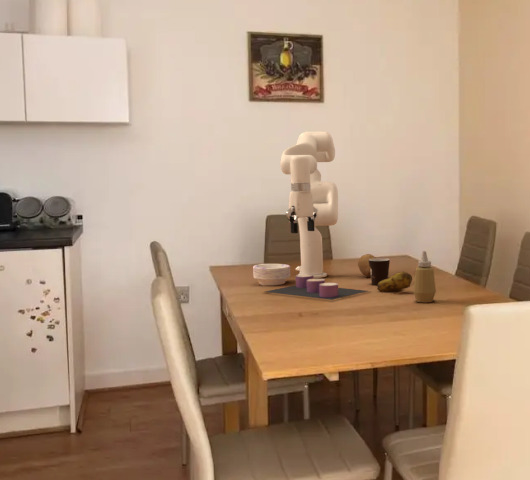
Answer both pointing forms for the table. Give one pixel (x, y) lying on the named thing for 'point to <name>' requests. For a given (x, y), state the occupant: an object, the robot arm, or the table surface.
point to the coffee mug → (379, 269)
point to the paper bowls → (271, 273)
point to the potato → (395, 282)
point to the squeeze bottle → (424, 281)
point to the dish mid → (314, 285)
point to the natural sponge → (365, 264)
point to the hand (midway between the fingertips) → (302, 232)
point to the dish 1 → (303, 280)
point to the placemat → (303, 292)
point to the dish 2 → (328, 290)
